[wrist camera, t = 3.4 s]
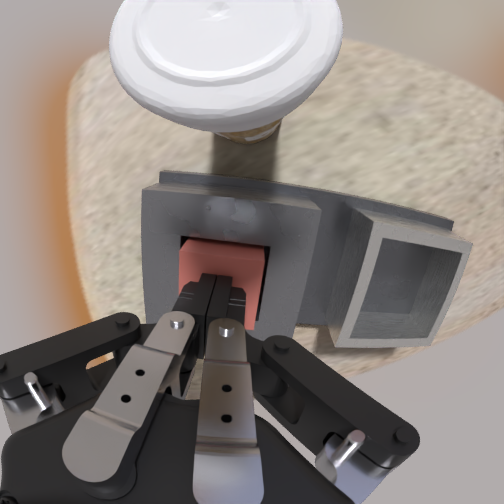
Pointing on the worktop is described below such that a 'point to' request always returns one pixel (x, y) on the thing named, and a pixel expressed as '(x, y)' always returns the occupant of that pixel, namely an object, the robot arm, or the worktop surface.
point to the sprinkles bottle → (224, 59)
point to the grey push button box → (310, 256)
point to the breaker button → (225, 267)
